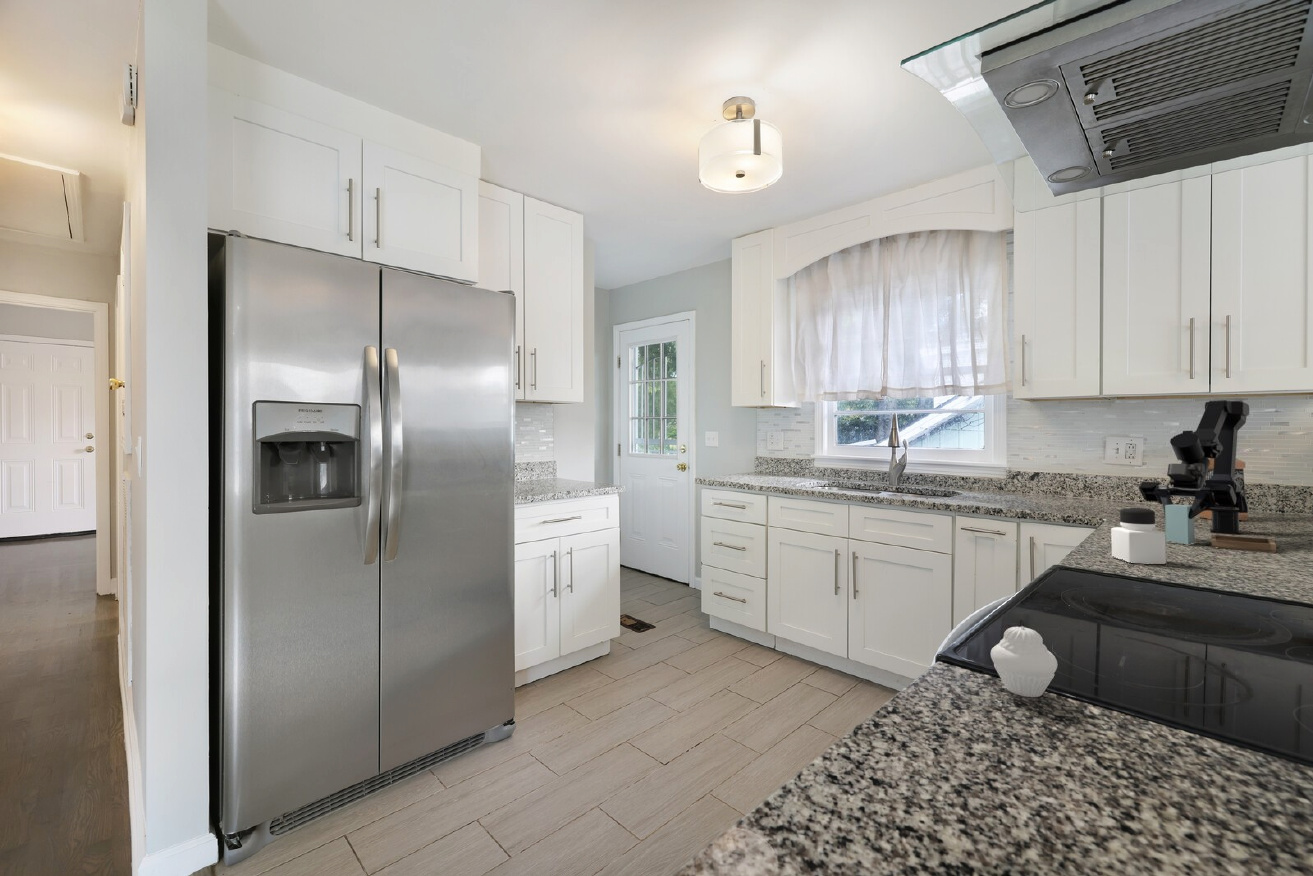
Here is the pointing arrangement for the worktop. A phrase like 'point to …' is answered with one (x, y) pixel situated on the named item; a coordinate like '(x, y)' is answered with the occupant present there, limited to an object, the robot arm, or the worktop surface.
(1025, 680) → the muffin
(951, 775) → the worktop surface
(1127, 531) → the medicine bottle
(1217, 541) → the tray
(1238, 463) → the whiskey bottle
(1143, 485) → the robot arm
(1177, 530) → the post
